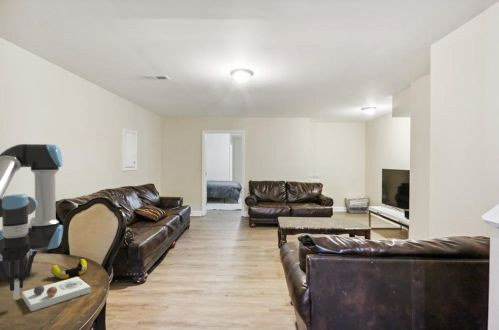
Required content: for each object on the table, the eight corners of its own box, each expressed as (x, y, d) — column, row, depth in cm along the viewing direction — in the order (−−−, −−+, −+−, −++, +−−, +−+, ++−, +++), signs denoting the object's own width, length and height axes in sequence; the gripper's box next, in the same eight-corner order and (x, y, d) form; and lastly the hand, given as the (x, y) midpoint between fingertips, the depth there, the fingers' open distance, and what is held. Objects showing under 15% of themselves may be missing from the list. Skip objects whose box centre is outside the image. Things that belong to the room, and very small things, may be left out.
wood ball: (45, 296, 109) (45, 287, 109) (55, 293, 111) (55, 284, 111) (47, 298, 107) (47, 289, 107) (58, 295, 109) (58, 286, 109)
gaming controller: (50, 276, 135) (55, 282, 128) (50, 265, 135) (55, 270, 128) (84, 268, 146) (91, 273, 139) (84, 257, 146) (91, 262, 139)
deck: (22, 297, 113) (22, 291, 113) (77, 282, 128) (77, 276, 128) (31, 311, 102) (31, 304, 102) (90, 292, 117) (90, 286, 117)
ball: (32, 294, 110) (32, 285, 110) (43, 291, 113) (43, 283, 113) (34, 297, 108) (34, 288, 108) (45, 294, 111) (45, 285, 111)
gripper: (-7, 241, 98) (-6, 307, 98) (39, 233, 108) (40, 294, 108) (-9, 237, 103) (-9, 301, 103) (34, 230, 113) (35, 289, 113)
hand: (16, 297), depth 105 cm, fingers closed
